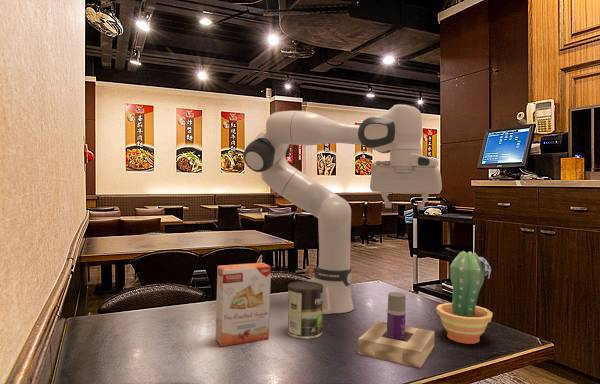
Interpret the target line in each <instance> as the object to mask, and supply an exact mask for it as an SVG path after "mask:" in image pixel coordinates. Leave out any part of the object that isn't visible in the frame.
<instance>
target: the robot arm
mask: <svg viewBox="0 0 600 384" xmlns="http://www.w3.org/2000/svg"><path fill="white" fill-rule="evenodd" d="M422 120H423V119H422V113H421V111H420V110H419V108H418V107H416V106H414V105H412V104H406V103H398V104H394V105H393V106H392V107H391V108H389V109H388V110H386V111H384V112H382V113H380V114H378V115H375V116H370V117H367V118H366V119H364V120H363V121H362V122H361V123H360V124H359V125H358V124H357V125H356V124H347V123H341V122H338V121H335V120H333V119H330V118H328V117H326V116H324V115H322V114H318V113H315V112H311V111H305V110H284V111H276V112H273V113H271V114H270V115H269V116H268V118H267V120H266V122H265V129H264V131H261V133H259V134H258V135H257V136H256V137H255V138H254V139H253V140H252V141H251V142H250V143H248V145H246V148H245V149H244V151H243V160H244V163H245V165H246V166H247V167H248V168H249V170H251V171H253V172H255V173H261V174H260V175H261V180H263V182H264V183H265V184H266V185H267V186H268V187H269V188H271V190H273V191H274V192H276V193H277V194H278V195H280V196H281V197H283V199H285V200H287V201H289V202H290V203H291V204H294V205H295V206H296V207H297V208H299V209H301V210H303V211H305V212H306V213H308V214H310V215H312V216H314V217H315V218H317V219H318V222H317V223H318V247H319V248H318V266H317V267H315V268H313V269H312V272H311V273H313V274H314V275H313V276H312V277H311V278H310V279H308V281H310V282H317V283H320V284H322V285H323V299H322V315H330V314H343V313H349V312H351V311H353V310H354V309H355V307H354V303H353V297H352V290H351V284H352V268H351V238H352V237H351V235H352V234H351V233H352V231H351V229H352V208H351V205H350V204H349V202H348V201H347V200H346V199H345V198H343V197H341V196H340V195H338V194H337V193H335V192H333V191H332V190H330V189H329V188H327V187H325V185H322V184H320V183H319V182H318V181H316V180H314V179H312V178H311V177H309V175H307V174H305V173H304V172H302V171H300V169H299V170H298V169H297V168H296V167H294V166H292V165H291V164H290V163H289V162H288V161H287V158H288V157H289V156H290V153H291V148H292V145H294V146H317V145H328V144H329V145H330V144H347V145H355V146H356V145H357V146H364V147H365V148H367V149H370V150H371V151H372V150H374V151H376V152H378V153H380V154H388V153H389V160H377V161H375V162H374V163H372V164H371V166H370V175H371V177H370V184H369V188H370V191H371V192H372V193H374V192H376V193H381V197H382V200H383V201H384V206H385V208H386V209H392V206H393V205H392V204H393V203H392V201H390V200H389V199H388V196H389V193H403V194H405V193H406V194H421V197H422V200H421V202H417V210H422V211H423V210H425V203H426V202H427V200H428V199H429V194H440V193H441V191H442V188H443V185H442V184H443V183H442V182H443V181H442V175H441V172H440V170H439V169H438V168H437V167H438V166H439V161H438V160H437V159H435V158H433V157H429V156H427V155H423V154H422V151H423V150H422V146H421V140H422V137H423V122H422Z"/></svg>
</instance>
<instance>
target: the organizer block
mask: <svg viewBox="0 0 600 384" xmlns="http://www.w3.org/2000/svg"><path fill="white" fill-rule="evenodd" d="M435 336H436V335H435V331H434V330H428V329H423V328H417V327H413V326H406V325H405V341H400V340H395V339H390V338H387V321H386V322H385V321H380V320H378V321H376V322H375V323H373V325H372V326H371V327H369V329H367V331H365V332H364V333H363V334H362V335H361V336H360V337H359V338H358V341H357V342H358V343H357V344H358V345H357V354H358V355H362V356H366V357H369V358H375V359H379V360H383V361H387V362H391V363H396V364H400V365H404V366H409V367H413V368H417V369H421V368H422V367H423V365H424V364H425V362H426V361H427V358H428V357H429V356H430V354H431V353H432V351H433V349H434V348H435Z"/></svg>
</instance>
